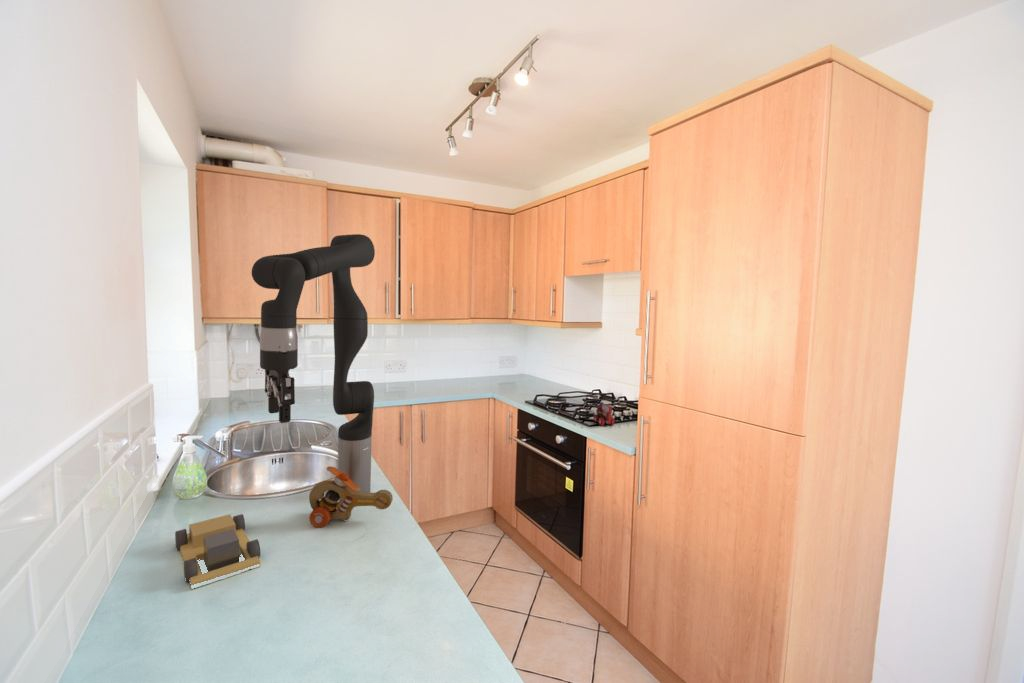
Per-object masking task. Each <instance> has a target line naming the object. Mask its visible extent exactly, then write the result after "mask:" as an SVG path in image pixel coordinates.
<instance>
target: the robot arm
mask: <svg viewBox="0 0 1024 683" xmlns="http://www.w3.org/2000/svg"><path fill="white" fill-rule="evenodd" d="M329 245H330V246H329ZM329 245H328V246H327V245H326V246H320V247H311V248H306V249H303V250H300V251H296V252H292V253H281V254H271V255H266V256H262V257H260V258H259V259H256V261H255V262H254V263H253V265H252V268H251V277H252V280H253V281H254V283H256V284H257V285H258V286H259V287H261V288H264V289H270V290H278V293H277V294H276V297H275V298H274V299H269V300H268V299H267V300H265V301H263V303H262V304H261V305H260V306H261V307H260V308H261V310H260V334H259V335H260V336H259V367H260V369H262V370H264V392H265V394H266V396H267V403H268V404H267V408H268V409H267V412H268V413H269V414H276V413H278V422H279V423H280V424H284V423H290V421H292V420H291V418H292V417H291V408H292V407H291V406H292V405H295V403H296V399H295V396H296V395H295V377H293V376H292V377H291V376H290V374H289V372H290V370H294V369H297V367H298V363H299V362H298V361H299V358H298V355H299V354H298V353H299V352H298V351H299V348H298V346H299V345H298V344H299V341H298V329H297V325H298V323H297V320H298V319H297V311H298V310H297V309H298V307H299V302H300V299H301V296H302V291H303V289H304V286H305V282H307V281H311V280H314V279H317V278H320V277H323V276H326V275H328V274H330V273H331V278H332V288H333V289H332V291H333V346H334V350H333V351H334V369H333V385H332V386H333V387H332V388H333V389H332V406H333V411H334V413H335V414H336V415H339V416H344V415H355V414H357V415H356V416H355V417H354V418H352V419H351V420H349V421H347V422H344V423H342V424H341V425H340V426H339V427H338V429H337V430H338V431H337V432H338V433H337V434H338V435H337V469H338V470H339V471H341V472H342V473H347V474H348V476H349V477H348V478H349V479H350V480H351V481H353V482H354V483H355V484H356V485H357V486H359V487H360V490H359V491H355V492H369V493H371V486H372V485H371V481H372V479H371V478H372V475H371V474H372V442H373V441H372V436H373V435H372V431H373V416H374V415H373V414H374V406H375V405H374V404H375V391H374V390H375V389H374V386H373V384H372V383H371V382H370V381H368V380H360V381H348V376H349V370H350V368H351V366H352V364H353V361H355V358H356V356H358V353H359V352H360V350H361V349H362V347H363V346H364V344H365V342H366V341H367V338H368V334H369V333H368V330H369V329H368V328H369V327H368V324H369V323H368V322H369V320H368V318H369V317H368V312H367V309H366V307H365V306H364V304H363V302H362V300H361V299H360V297H359V295H358V294H357V293H356V291H355V289H354V286H353V284H352V278H351V269H352V268H363V267H367V266H369V265H370V264H372V263H373V261H374V259H375V255H376V252H375V245H374V243H373V241H372V239H371V238H370V237H369V236H368V235H365V234H358V233H356V234H355V233H353V234H341V235H336V236H334V237H332V239H331V242H330V244H329ZM353 491H354V490H353Z"/></svg>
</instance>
